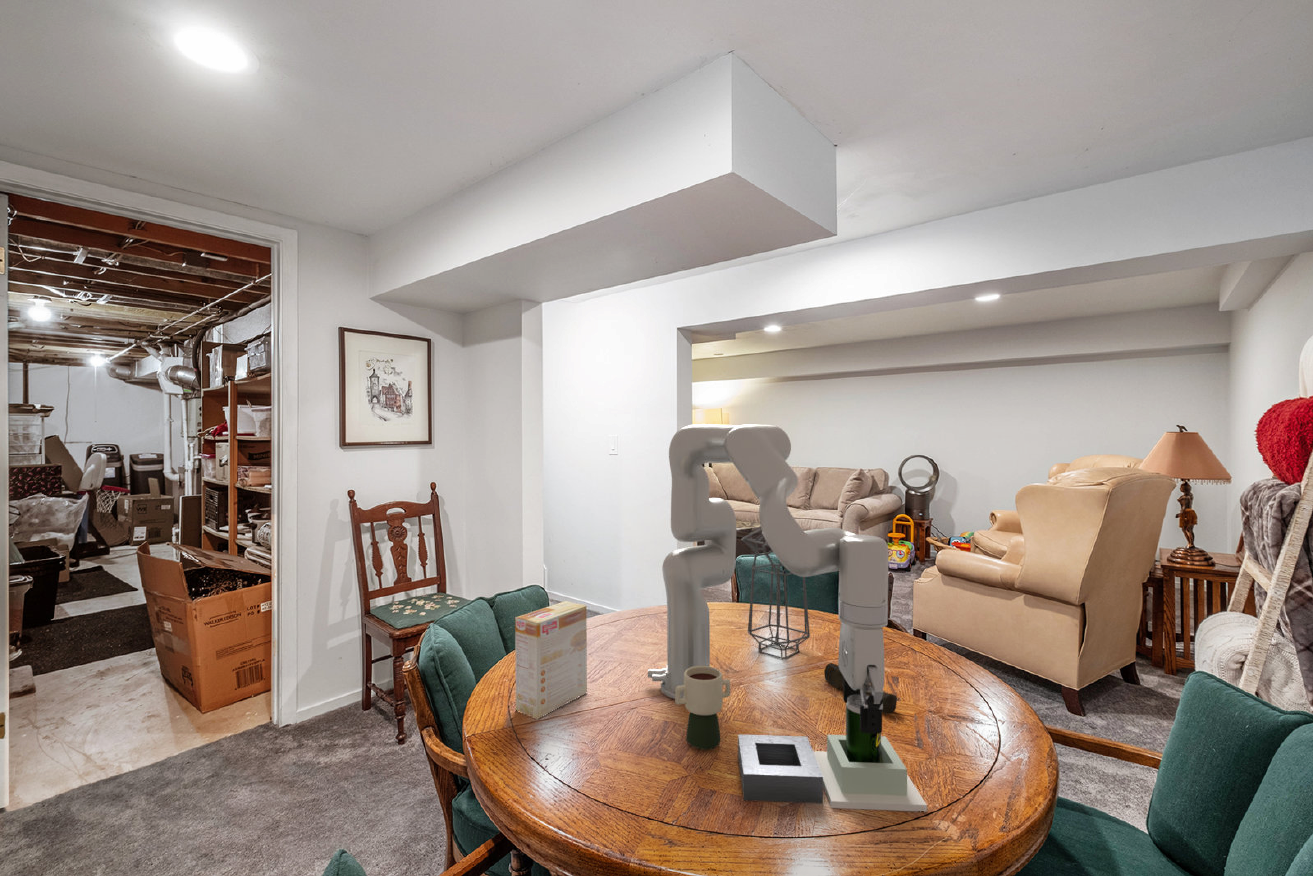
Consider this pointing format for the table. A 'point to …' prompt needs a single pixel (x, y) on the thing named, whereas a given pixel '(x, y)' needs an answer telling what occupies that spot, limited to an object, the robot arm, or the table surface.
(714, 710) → the character mug
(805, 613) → the geometric lantern
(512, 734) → the table surface
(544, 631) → the coffeecake box
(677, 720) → the table surface
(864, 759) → the beer can
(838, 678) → the hand tool
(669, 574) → the robot arm
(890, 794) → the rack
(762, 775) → the socket block
